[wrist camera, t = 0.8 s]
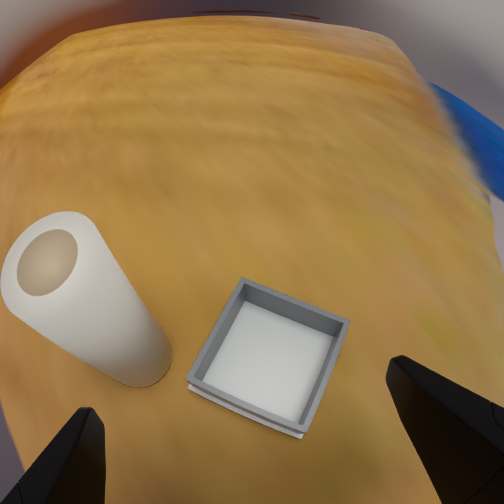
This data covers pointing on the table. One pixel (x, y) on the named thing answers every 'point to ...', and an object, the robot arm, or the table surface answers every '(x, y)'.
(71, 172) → the table surface
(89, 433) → the robot arm
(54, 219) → the paper towel roll
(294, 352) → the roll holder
